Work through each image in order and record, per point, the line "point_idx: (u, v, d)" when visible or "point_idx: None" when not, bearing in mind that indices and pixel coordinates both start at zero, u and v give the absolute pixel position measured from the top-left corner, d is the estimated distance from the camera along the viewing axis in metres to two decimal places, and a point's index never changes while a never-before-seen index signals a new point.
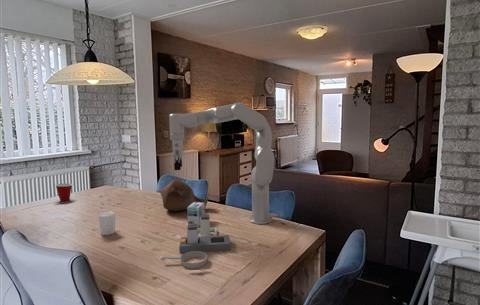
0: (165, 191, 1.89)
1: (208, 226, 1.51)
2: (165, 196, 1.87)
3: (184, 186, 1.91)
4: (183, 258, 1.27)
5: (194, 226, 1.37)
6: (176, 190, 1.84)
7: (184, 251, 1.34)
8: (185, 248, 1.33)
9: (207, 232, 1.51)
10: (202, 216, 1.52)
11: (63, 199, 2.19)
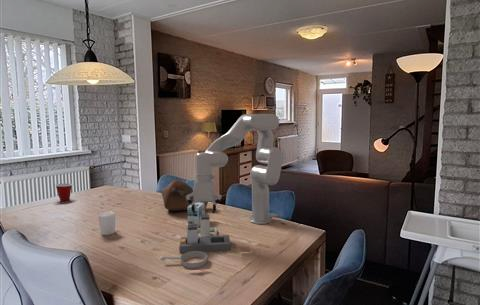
0: (165, 191, 1.90)
1: (208, 226, 1.51)
2: (166, 196, 1.88)
3: (185, 186, 1.91)
4: (183, 258, 1.27)
5: (194, 226, 1.37)
6: (177, 190, 1.84)
7: (184, 251, 1.34)
8: (185, 248, 1.33)
9: (207, 232, 1.51)
10: (202, 216, 1.52)
11: (63, 199, 2.19)
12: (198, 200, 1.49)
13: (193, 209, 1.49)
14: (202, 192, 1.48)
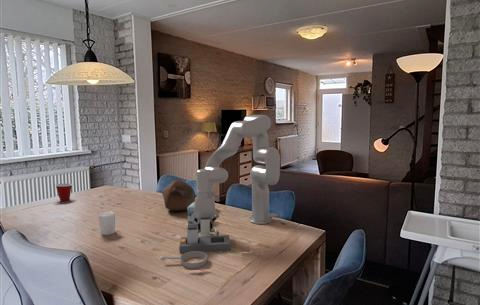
0: (166, 191, 1.90)
1: (208, 226, 1.51)
2: (166, 196, 1.88)
3: (185, 186, 1.91)
4: (183, 258, 1.27)
5: (194, 226, 1.37)
6: (177, 190, 1.84)
7: (184, 251, 1.34)
8: (185, 248, 1.33)
9: (207, 232, 1.51)
10: None
11: (63, 199, 2.19)
12: (199, 217, 1.50)
13: (199, 227, 1.51)
14: (203, 209, 1.49)
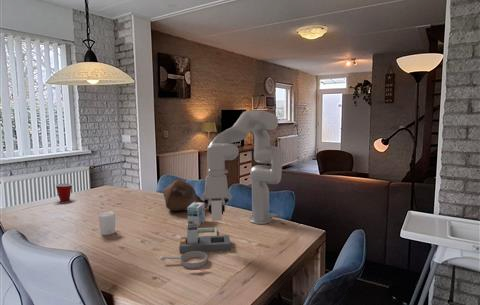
0: (167, 191, 1.90)
1: (220, 208, 1.36)
2: (167, 195, 1.88)
3: (186, 186, 1.91)
4: (183, 258, 1.27)
5: (194, 226, 1.37)
6: (178, 190, 1.85)
7: (184, 251, 1.34)
8: (185, 248, 1.33)
9: (219, 215, 1.36)
10: None
11: (63, 199, 2.19)
12: (210, 197, 1.35)
13: (210, 210, 1.36)
14: (215, 188, 1.34)
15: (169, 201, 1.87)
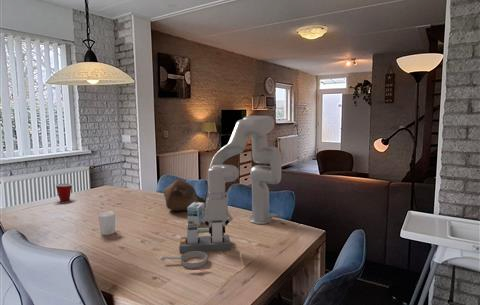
0: (168, 191, 1.90)
1: (220, 230, 1.37)
2: (168, 195, 1.88)
3: (187, 186, 1.91)
4: (183, 258, 1.27)
5: (194, 226, 1.37)
6: (179, 190, 1.85)
7: (184, 251, 1.34)
8: (185, 248, 1.33)
9: (220, 236, 1.37)
10: None
11: (63, 199, 2.19)
12: (211, 220, 1.36)
13: (211, 231, 1.37)
14: (215, 211, 1.35)
15: (169, 201, 1.87)
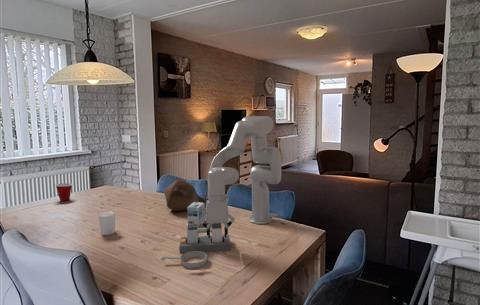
0: (168, 191, 1.90)
1: (220, 236, 1.37)
2: (168, 195, 1.88)
3: (187, 186, 1.91)
4: (183, 258, 1.27)
5: (194, 226, 1.37)
6: (179, 190, 1.85)
7: (184, 251, 1.34)
8: (185, 248, 1.33)
9: None
10: (213, 225, 1.38)
11: (63, 199, 2.19)
12: (211, 222, 1.37)
13: (208, 233, 1.37)
14: (215, 213, 1.36)
15: (170, 201, 1.87)
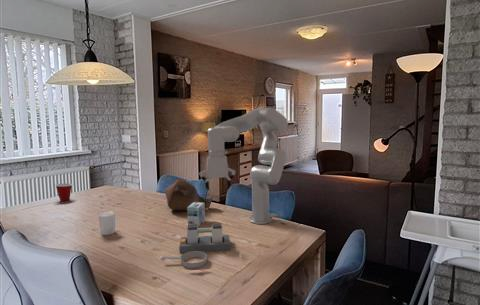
0: (169, 191, 1.91)
1: (220, 236, 1.37)
2: (169, 195, 1.89)
3: (188, 186, 1.92)
4: (183, 258, 1.27)
5: (194, 226, 1.37)
6: (180, 190, 1.85)
7: (184, 251, 1.34)
8: (185, 248, 1.33)
9: None
10: (214, 225, 1.38)
11: (63, 199, 2.19)
12: (212, 176, 1.46)
13: (207, 186, 1.46)
14: (216, 168, 1.45)
15: (171, 201, 1.87)
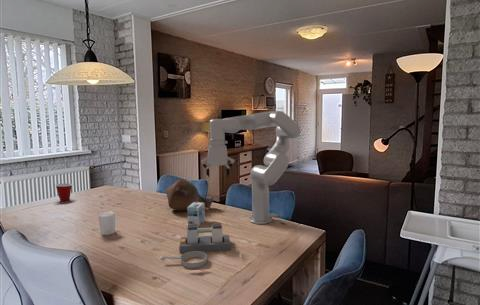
0: (170, 191, 1.91)
1: (220, 236, 1.37)
2: (170, 195, 1.89)
3: (189, 186, 1.92)
4: (183, 258, 1.27)
5: (194, 226, 1.37)
6: (181, 190, 1.85)
7: (184, 251, 1.34)
8: (185, 248, 1.33)
9: None
10: (214, 225, 1.38)
11: (63, 199, 2.19)
12: (212, 164, 1.58)
13: (208, 172, 1.58)
14: (216, 156, 1.57)
15: (172, 201, 1.87)
